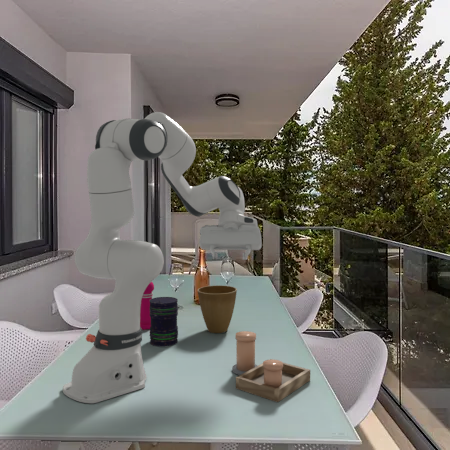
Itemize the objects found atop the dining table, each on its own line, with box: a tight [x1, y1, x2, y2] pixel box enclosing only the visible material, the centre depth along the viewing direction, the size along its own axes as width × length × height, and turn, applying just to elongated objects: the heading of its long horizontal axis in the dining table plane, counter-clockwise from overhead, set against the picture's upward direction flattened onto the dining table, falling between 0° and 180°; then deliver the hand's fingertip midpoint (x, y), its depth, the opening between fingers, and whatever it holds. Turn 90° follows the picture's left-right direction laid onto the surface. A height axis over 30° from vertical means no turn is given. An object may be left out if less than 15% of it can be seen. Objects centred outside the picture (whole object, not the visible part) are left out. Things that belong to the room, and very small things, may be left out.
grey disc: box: [231, 364, 258, 376], centre depth 130 cm, size 8×8×1 cm
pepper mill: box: [140, 281, 155, 331], centre depth 173 cm, size 7×7×20 cm
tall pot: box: [235, 330, 257, 372], centre depth 130 cm, size 6×6×10 cm
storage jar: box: [149, 296, 179, 348], centre depth 155 cm, size 10×10×15 cm
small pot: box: [262, 358, 284, 388], centre depth 115 cm, size 5×5×7 cm
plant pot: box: [197, 284, 238, 334], centre depth 169 cm, size 15×15×16 cm
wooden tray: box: [235, 358, 311, 403], centre depth 121 cm, size 17×13×3 cm
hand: (229, 258), depth 140 cm, fingers open, 8 cm apart
